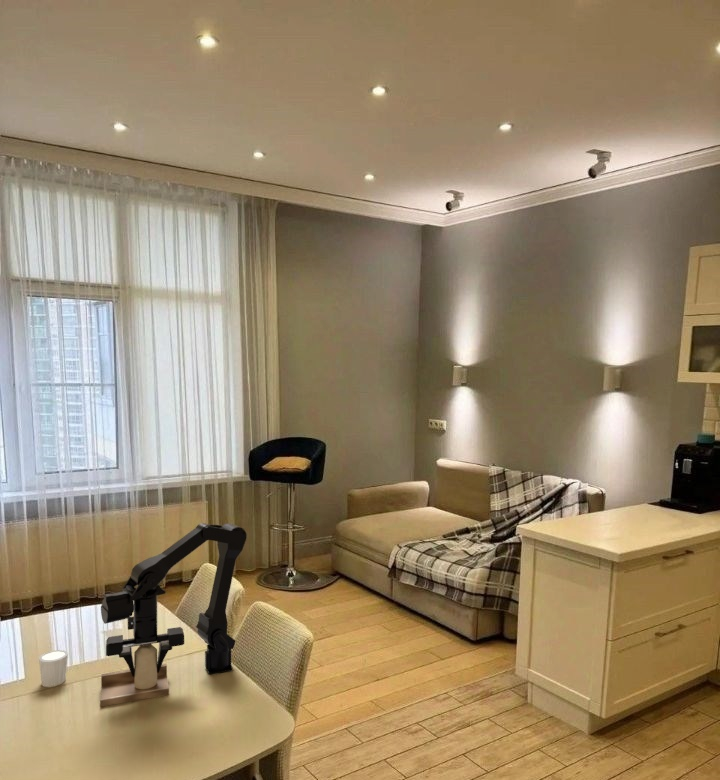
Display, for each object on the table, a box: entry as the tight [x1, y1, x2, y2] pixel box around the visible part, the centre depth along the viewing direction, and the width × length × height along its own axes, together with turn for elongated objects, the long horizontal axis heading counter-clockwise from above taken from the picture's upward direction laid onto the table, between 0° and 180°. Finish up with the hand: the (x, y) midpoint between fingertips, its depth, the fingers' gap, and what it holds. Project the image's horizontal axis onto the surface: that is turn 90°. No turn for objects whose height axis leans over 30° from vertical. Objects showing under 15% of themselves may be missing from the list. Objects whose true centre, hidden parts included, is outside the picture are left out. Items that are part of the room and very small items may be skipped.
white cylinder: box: [38, 649, 69, 688], centre depth 161 cm, size 7×7×7 cm
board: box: [99, 663, 170, 707], centre depth 155 cm, size 16×9×4 cm, turn 111°
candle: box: [133, 644, 158, 689], centre depth 156 cm, size 6×6×10 cm
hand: (145, 674), depth 156 cm, fingers closed on candle, 5 cm apart
